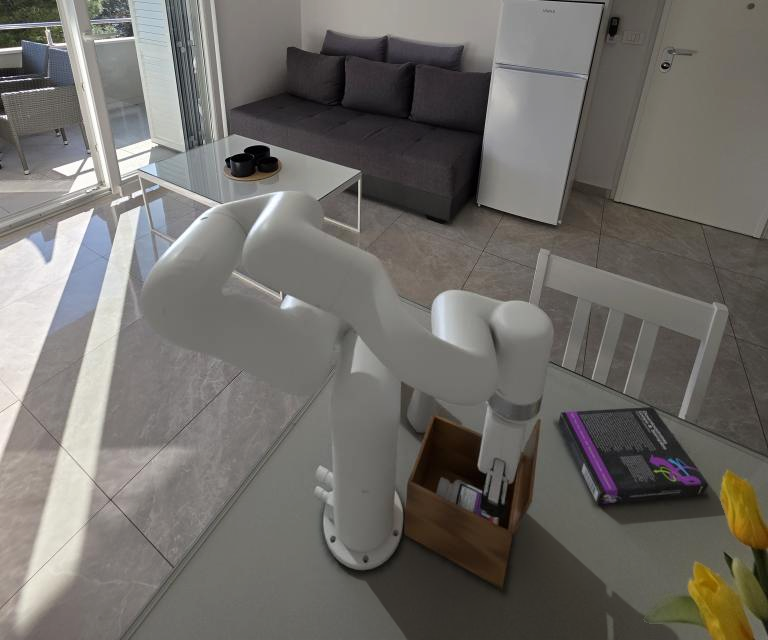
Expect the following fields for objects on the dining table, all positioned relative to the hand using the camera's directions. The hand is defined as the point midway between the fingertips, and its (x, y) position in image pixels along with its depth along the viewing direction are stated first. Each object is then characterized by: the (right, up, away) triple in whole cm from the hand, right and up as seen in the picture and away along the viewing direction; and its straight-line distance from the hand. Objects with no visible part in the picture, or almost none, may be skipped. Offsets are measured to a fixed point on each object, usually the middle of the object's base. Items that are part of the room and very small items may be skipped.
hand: (498, 477), depth 63 cm
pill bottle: (+1, -9, +2) cm, 9 cm away
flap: (+3, +3, -2) cm, 5 cm away
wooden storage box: (-4, -11, +6) cm, 13 cm away
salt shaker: (-10, -6, +20) cm, 23 cm away
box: (+27, -9, +15) cm, 33 cm away
